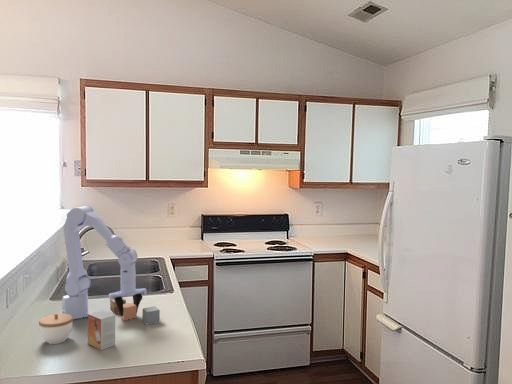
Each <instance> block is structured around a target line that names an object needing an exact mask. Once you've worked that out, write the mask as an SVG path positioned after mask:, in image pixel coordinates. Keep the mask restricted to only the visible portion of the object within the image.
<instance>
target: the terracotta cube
mask: <svg viewBox="0 0 512 384" xmlns="http://www.w3.org/2000/svg"><path fill="white" fill-rule="evenodd" d="M137 315H138V310H137V306H136V305H135V304H133V302H129V303H127V302H126V304H123V316H120V315H119V317H120V318H121V319H122V321H124V320H125V321H129V320H128V319H130V320H133V319H132V318H136V319H137V317H138V316H137Z"/></svg>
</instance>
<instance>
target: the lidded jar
mask: <svg viewBox="0 0 512 384" xmlns="http://www.w3.org/2000/svg"><path fill="white" fill-rule="evenodd" d="M73 323H74V319H73V316H72V315H70V314H62V313H54V314H48V315H46V316H44V317H41V318H39V320H38V325H39V334H40V337H41V338H42V340H44V341H45V342H46V343H47V344H48V343H49V345H56V344H57V345H58V344H61V343H64V342H65V341H67V339H68V338H69V337H70V336H71V333H72V330H73Z"/></svg>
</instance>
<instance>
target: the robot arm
mask: <svg viewBox="0 0 512 384" xmlns="http://www.w3.org/2000/svg"><path fill="white" fill-rule="evenodd" d="M65 219H66V220H65V222H64V224H63V234H64V235H63V236H64V241H65V242H64V243H65V250H66V251H65V252H66V257H67V259H66V260H67V265H68V273H67V276H66V278H65V279H66V281H65V285H64V289H65V292H66V294H67V295H63V296H62V298H61V300H62V301H61V308H62V309H61V314H70V315H72V316H73V320H76V319H77V320H78V319H83V317H84V318H88V314H90V313H91V312H89V288H90V286H91V278H90V277H89V274H88V271H87V270H86V269H85V268H84V262H83V260H84V259H83V254H82V253H83V252H82V246H81V240H80V239H81V238H80V229H82V228H83V226H87V227H92V228H93V229H94V230H95V231H96V232H97V233H98V234H99V235H100V236H101V237H103V239H104V241H106V246H107V248H108V249H109V250H110V251H111V252H112V253H113V254H114V256H115V257H116V258H117V262H118V264H119V265H120V290H119V291H116V292H111V293H108V299H109V301H110V300H112V299H114V300H115V302H116V304H117V306H118V309H119V313H118V314H119V317H120V316H123V302H124V301H123V300H122V297H123V298H126V297H127V298H128V297H131V296H132V301H133V302H132V303H133V304H135V305H136V306H137V311H138V309H139V306H140V303H141V301H142V300H143V295H147V288H143V287H142V288H136V285H137V284H136V283H137V282H136V280H137V278H136V276H137V275H136V262H137V260H138V253H137V251H136V250H135V249H133V248H131V246H128V245H127V244H126V242H124V240H123V237H122V236H119V235H117V234H113V232H112V231H111V230H110V229H109V228H108V226H107V225H106V224H105V223H104V222H103V220H102V218H100V216H99V214H98V212H97V211H95V210H94V209H93V207H91V205H90V206H89V205H83V206H79V207H73V208H71V209H70V210H69V211H68V213H67V212H66V218H65Z"/></svg>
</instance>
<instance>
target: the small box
mask: <svg viewBox="0 0 512 384" xmlns="http://www.w3.org/2000/svg"><path fill="white" fill-rule="evenodd" d="M89 313H90V314H88V317H87V344H88V345H90V346H92V347H94V348H96V349H98V350H99V351H103V350H105V349H108V348H110V347H114V346H115V345H116V314H113V313H110V312H107V311H104V310H102V309H101V310H98V311H97V310H96V311H95V312H89Z"/></svg>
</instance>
